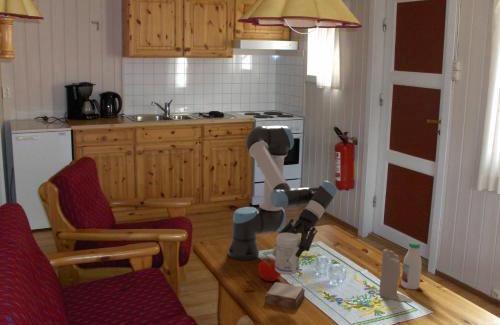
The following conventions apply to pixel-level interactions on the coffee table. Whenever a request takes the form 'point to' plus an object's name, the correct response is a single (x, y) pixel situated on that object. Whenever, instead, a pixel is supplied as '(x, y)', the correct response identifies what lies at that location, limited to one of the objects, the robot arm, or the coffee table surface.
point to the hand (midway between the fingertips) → (281, 258)
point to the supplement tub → (286, 253)
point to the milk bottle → (412, 267)
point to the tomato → (268, 270)
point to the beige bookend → (391, 277)
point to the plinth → (285, 295)
